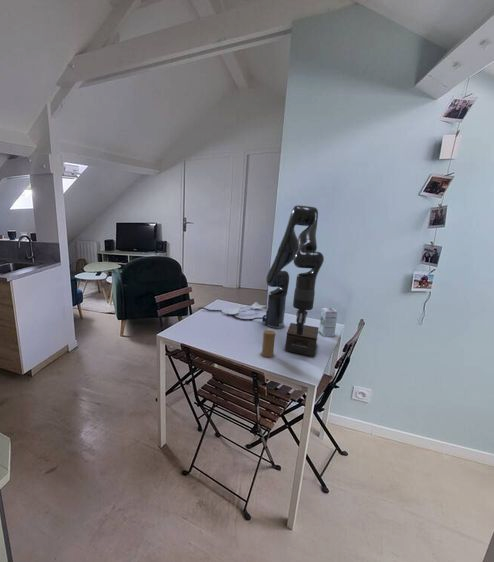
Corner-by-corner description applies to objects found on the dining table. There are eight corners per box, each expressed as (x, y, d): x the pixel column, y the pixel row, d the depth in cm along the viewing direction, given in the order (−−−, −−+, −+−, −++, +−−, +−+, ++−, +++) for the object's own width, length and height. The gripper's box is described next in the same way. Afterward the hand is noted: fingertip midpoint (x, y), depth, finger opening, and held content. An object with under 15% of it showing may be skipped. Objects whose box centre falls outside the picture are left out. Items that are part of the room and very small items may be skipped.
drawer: (312, 359, 145) (314, 344, 143) (284, 353, 151) (286, 339, 149) (315, 344, 159) (316, 330, 157) (289, 339, 165) (291, 326, 163)
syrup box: (334, 336, 168) (338, 311, 165) (322, 336, 170) (326, 311, 166) (330, 332, 174) (333, 307, 170) (318, 331, 175) (321, 307, 171)
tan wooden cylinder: (260, 355, 152) (262, 333, 149) (262, 351, 156) (264, 329, 153) (272, 358, 149) (274, 335, 146) (273, 353, 153) (276, 331, 150)
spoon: (266, 309, 211) (266, 304, 210) (227, 317, 201) (227, 312, 200) (256, 305, 219) (256, 301, 218) (218, 313, 209) (218, 308, 208)
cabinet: (314, 356, 149) (316, 338, 146) (284, 350, 156) (286, 332, 153) (316, 344, 160) (318, 327, 158) (288, 339, 167) (290, 322, 165)
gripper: (295, 292, 141) (291, 327, 146) (292, 300, 131) (287, 338, 135) (315, 294, 137) (310, 330, 142) (312, 303, 127) (307, 342, 131)
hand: (299, 334), depth 139 cm, fingers closed
